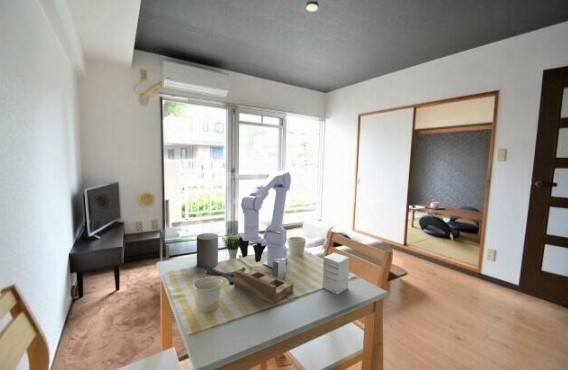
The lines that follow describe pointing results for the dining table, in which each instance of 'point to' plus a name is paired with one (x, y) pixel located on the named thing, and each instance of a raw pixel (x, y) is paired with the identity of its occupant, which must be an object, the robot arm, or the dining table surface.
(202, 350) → the dining table surface
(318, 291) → the dining table surface
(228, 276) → the bracket
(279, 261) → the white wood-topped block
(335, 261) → the supplement box
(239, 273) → the brown holed block
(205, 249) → the pillar candle
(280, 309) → the dining table surface
